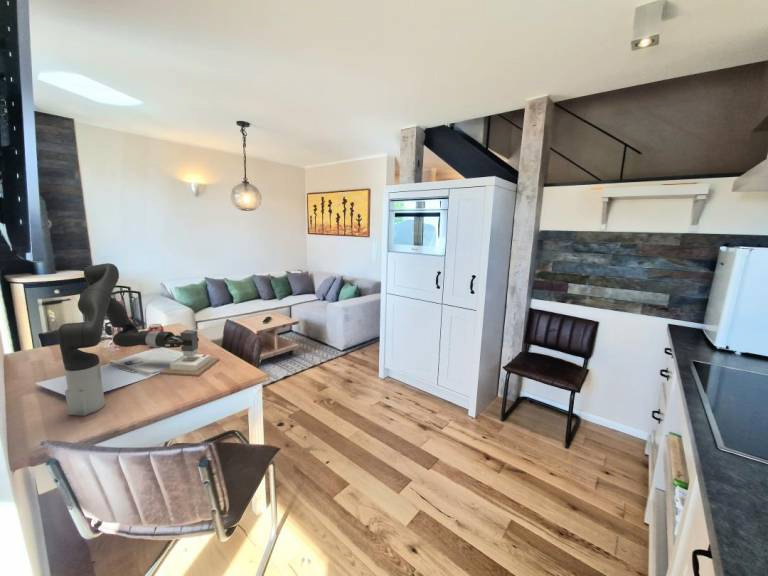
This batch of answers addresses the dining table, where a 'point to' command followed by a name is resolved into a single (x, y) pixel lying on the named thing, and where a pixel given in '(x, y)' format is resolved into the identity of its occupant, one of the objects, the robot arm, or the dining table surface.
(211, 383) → the dining table surface
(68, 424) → the dining table surface
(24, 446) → the dining table surface
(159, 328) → the soda can
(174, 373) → the socket
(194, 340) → the plug
